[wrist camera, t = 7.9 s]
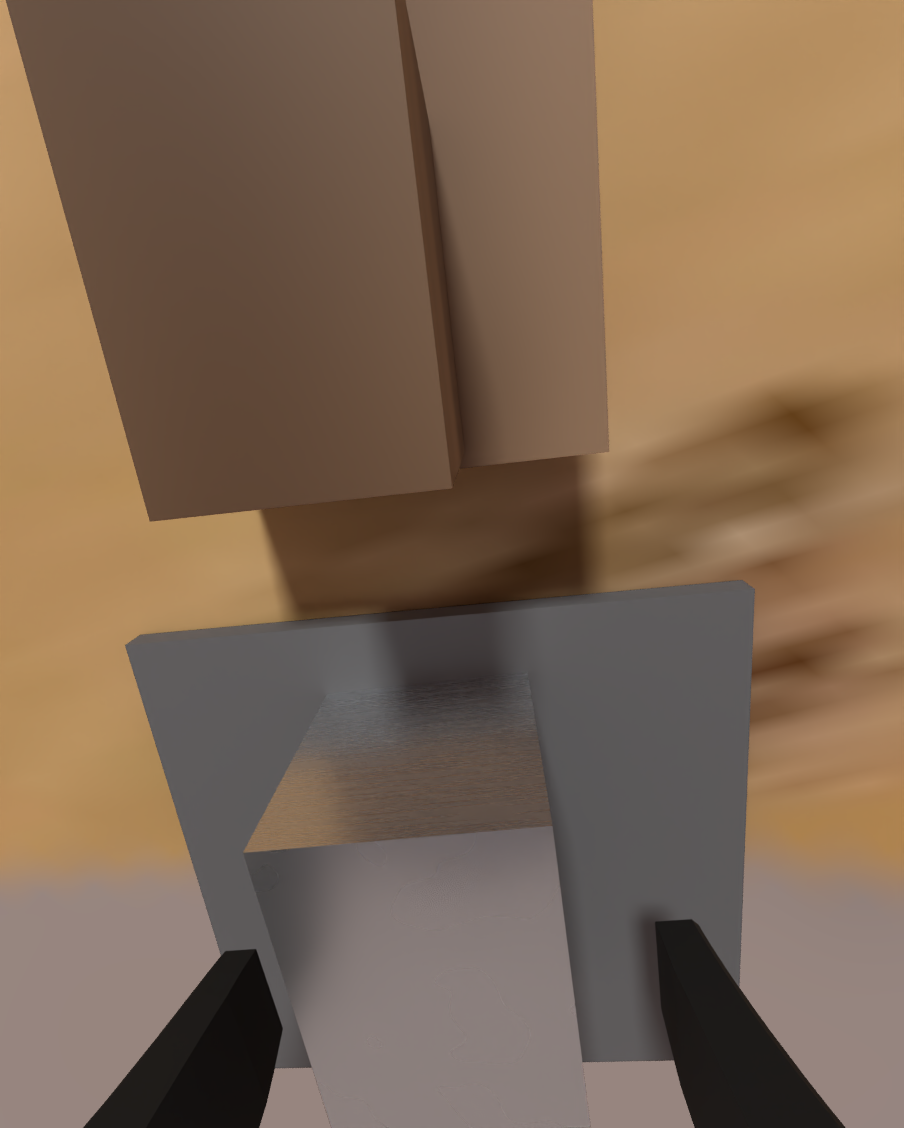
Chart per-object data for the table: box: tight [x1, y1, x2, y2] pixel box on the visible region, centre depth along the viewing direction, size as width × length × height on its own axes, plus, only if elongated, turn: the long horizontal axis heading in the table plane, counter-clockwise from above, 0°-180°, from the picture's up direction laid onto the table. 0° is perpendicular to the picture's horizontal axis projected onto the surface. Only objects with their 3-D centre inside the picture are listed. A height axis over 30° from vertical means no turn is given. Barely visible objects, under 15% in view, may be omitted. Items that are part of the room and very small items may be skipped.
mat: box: [125, 580, 755, 1068], centre depth 12 cm, size 12×12×1 cm
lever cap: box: [243, 672, 591, 1128], centre depth 10 cm, size 4×8×4 cm, turn 9°
